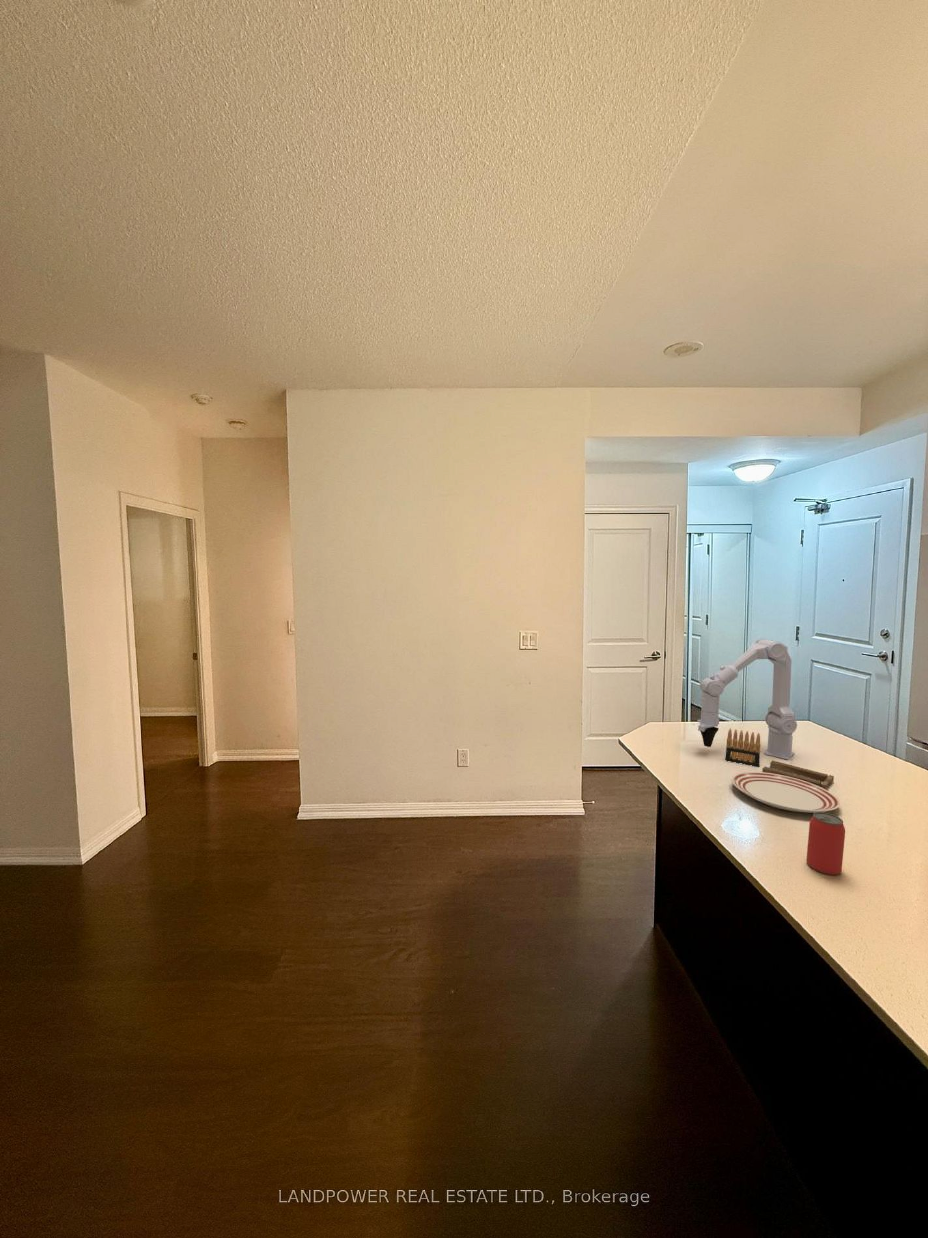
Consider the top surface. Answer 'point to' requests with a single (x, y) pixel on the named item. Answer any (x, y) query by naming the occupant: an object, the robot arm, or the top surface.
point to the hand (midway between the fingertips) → (707, 746)
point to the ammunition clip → (743, 749)
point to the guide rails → (800, 774)
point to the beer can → (826, 843)
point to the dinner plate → (785, 792)
